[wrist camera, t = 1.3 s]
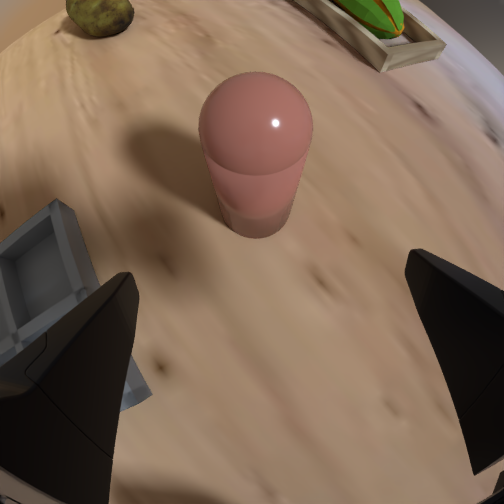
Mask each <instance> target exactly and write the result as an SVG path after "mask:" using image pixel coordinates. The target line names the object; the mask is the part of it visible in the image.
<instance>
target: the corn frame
mask: <svg viewBox="0 0 504 504" xmlns="http://www.w3.org/2000/svg"><path fill="white" fill-rule="evenodd" d="M294 1H295V2H297V3H298V4H299V5H301V6H302V7H304V8H305V9H306V10H308V11H309V12H310V13H312V14H313V15H314V16H316V17H317V18H318V19H320V20H321V21H322V22H323V23H325V24H326V25H327V26H329V27H330V28H331V29H332V30H333V31H335V32H336V33H337V34H338V35H339V36H341V37H342V38H343V39H344V40H345V41H347V42H348V43H349V44H350V45H351V46H352V47H353V48H354V49H356V50H357V51H358V52H359V53H360V54H361V55H362V56H363V57H364V58H365V59H366V60H368V61H369V62H370V63H371V64H372V65H373V66H374V67H375V68H376V69H377V70H378V71H379V72H380V73H381V72H385V71H388V70H392V69H396V68H400V67H404V66H408V65H412V64H416V63H421V62H425V61H430V60H435V59H438V58H439V56H440V55H441V53H442V51H443V50H444V48H445V46H446V45H447V44H446V43H445V42H443V41H442V40H441V39H440V38H439V37H438V36H437V35H436V34H435V33H433V32H432V31H431V30H430V29H429V28H428V27H427V26H425V25H424V24H423V23H422V22H421V21H419V20H418V19H417V18H416V17H414V16H413V15H412V14H411V13H409V12H408V11H407V10H405V9H404V8H403V7H401V9H402V12H403V15H404V20H403V24H404V27H405V28H404V30H403V32H405V33H406V34H407V35H408V36H409V37H410V38H412V39H413V40H414V41H415V42H416V43H411V44H405V45H399V46H393V47H387V46H386V45H384V44H383V43H382V42H381V41H380V40H379V39H378V38H376V37H375V36H374V35H373V34H372V33H370V32H369V31H368V30H367V29H366V28H364V27H363V26H362V25H361V24H359V23H358V22H357V21H356V20H354V19H353V18H352V17H350V16H349V15H348V14H346V13H345V12H344V11H342V10H341V9H340V8H338V7H337V6H335V5H334V4H333V3H331V2H330V1H328V0H294Z"/></svg>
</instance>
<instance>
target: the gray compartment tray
mask: <svg viewBox="0 0 504 504" xmlns="http://www.w3.org/2000/svg"><path fill="white" fill-rule="evenodd" d="M98 288H100V284H99V282H98V279H97V276H96V274H95V271H94V269H93V266H92V263H91V260H90V258H89V255H88V252H87V249H86V246H85V243H84V240H83V237H82V234H81V231H80V228H79V225H78V222H77V219H76V215H75V212H74V210H72V209H71V208H70V207H68V206H67V205H65V204H64V203H62V202H61V201H60V200H58V199H57V198H56V199H55V200H54V201H52V202H51V203H50V204H48V205H47V206H46V207H44V208H43V209H42V210H40V211H39V212H38V213H36V214H35V215H34V216H33V217H31V218H30V219H29V220H28V221H26V222H25V223H24V224H23V225H21V226H20V227H19V228H18V229H16V230H15V231H14V232H13V233H12V234H10V235H9V236H8V237H7V238H6V239H5V240H3V241H2V242H1V243H0V367H1V366H2V365H3V364H5V363H6V362H7V361H9V360H10V359H11V358H13V357H14V356H15V355H16V354H18V353H19V352H20V351H22V350H23V349H24V348H26V347H27V346H28V345H29V344H30V343H32V342H33V341H34V340H35V339H37V338H38V337H39V336H40V335H41V334H42V333H44V332H45V331H46V332H47V329H49V328H50V327H51V326H52V325H53V324H55V323H56V322H57V321H58V320H59V319H61V318H62V317H63V316H64V315H66V314H67V313H68V312H69V311H70V310H72V309H73V308H74V307H75V306H77V305H78V304H79V303H80V302H82V301H83V300H84V299H85V298H87V297H88V296H89V295H91V294H92V293H93V292H94V291H96V290H97V289H98ZM151 395H153V394H152V393H151V391H150V389H149V387H148V385H147V384H146V382H145V380H144V378H143V376H142V374H141V373H140V371H139V369H138V367H137V365H136V363H135V361H134V359H133V357H132V355H131V357H130V362H129V366H128V371H127V376H126V381H125V386H124V392H123V397H122V403H121V408H120V412H121V411H123V410H125V409H128V408H130V407H132V406H135V405H137V404H139V403H141V402H142V401H144V400H145V399H147V398H148V397H150V396H151Z"/></svg>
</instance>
